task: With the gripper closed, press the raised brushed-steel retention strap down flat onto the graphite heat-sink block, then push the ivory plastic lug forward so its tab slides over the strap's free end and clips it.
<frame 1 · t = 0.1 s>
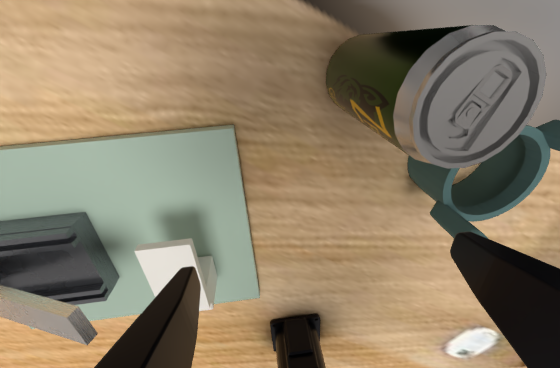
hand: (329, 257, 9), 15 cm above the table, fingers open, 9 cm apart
bracket: (450, 155, 25), on the table
lug: (183, 266, 23), point 3 cm above the table, slide at 0.0 cm
board: (119, 238, 25), on the table
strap: (8, 303, 19), point 6 cm above the table, hinge at 22.0°
beer can: (356, 74, 20), on the table
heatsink: (55, 246, 24), resting on board
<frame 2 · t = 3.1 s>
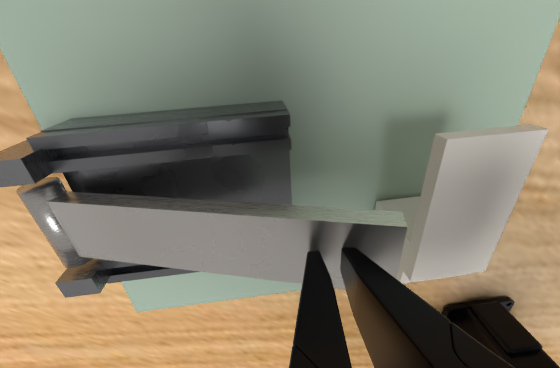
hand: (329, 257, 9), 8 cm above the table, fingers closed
lug: (434, 199, 13), point 3 cm above the table, slide at 0.0 cm
board: (300, 164, 16), on the table
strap: (197, 236, 10), point 6 cm above the table, hinge at 17.6°, touching gripper
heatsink: (200, 174, 15), resting on board
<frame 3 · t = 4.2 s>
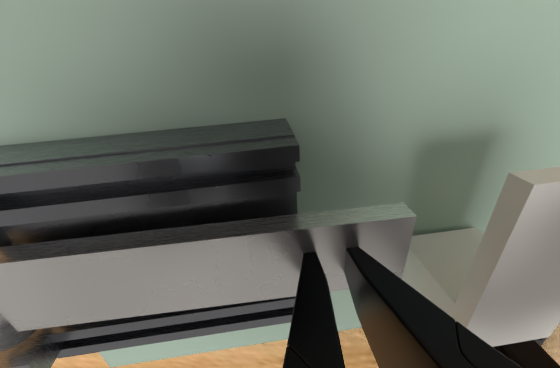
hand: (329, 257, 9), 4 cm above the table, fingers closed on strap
lug: (482, 243, 10), point 3 cm above the table, slide at 0.0 cm
board: (307, 193, 12), on the table
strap: (190, 269, 9), point 4 cm above the table, hinge at 1.3°, touching gripper
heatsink: (181, 208, 12), resting on board
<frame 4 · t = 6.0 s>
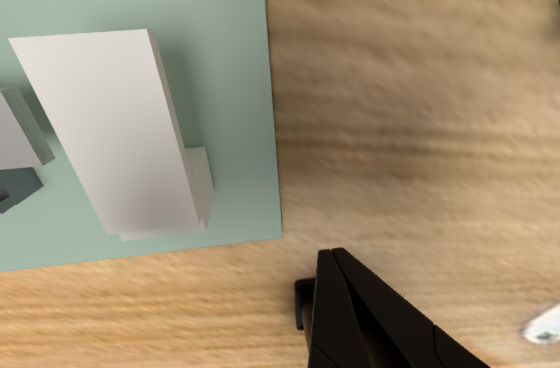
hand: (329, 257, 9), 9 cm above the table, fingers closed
lug: (148, 142, 12), point 3 cm above the table, slide at 0.0 cm
board: (38, 110, 14), on the table
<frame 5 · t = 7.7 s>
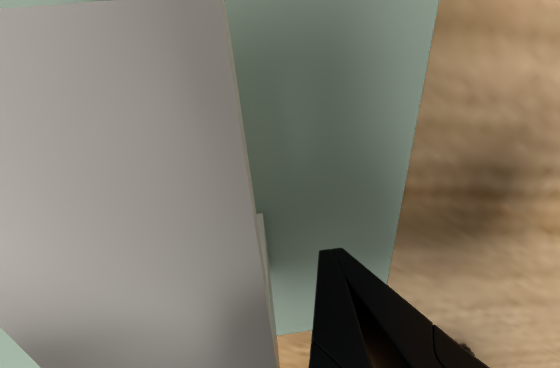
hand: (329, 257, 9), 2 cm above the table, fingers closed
lug: (178, 234, 6), point 3 cm above the table, slide at 1.2 cm, touching gripper
board: (25, 156, 8), on the table
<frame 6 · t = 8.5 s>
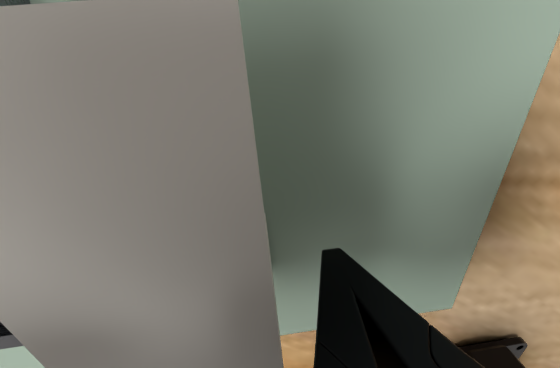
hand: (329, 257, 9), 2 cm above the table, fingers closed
lug: (182, 234, 6), point 3 cm above the table, slide at 4.9 cm, touching gripper
board: (146, 143, 8), on the table
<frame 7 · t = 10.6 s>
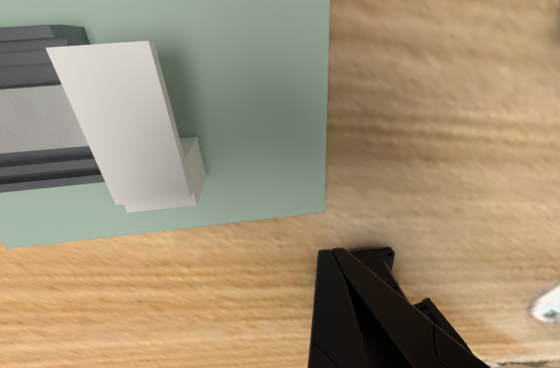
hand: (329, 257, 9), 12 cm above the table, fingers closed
lug: (149, 130, 14), point 3 cm above the table, slide at 4.8 cm
board: (135, 98, 17), on the table
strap: (5, 121, 13), point 4 cm above the table, hinge at 1.2°
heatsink: (38, 106, 16), resting on board
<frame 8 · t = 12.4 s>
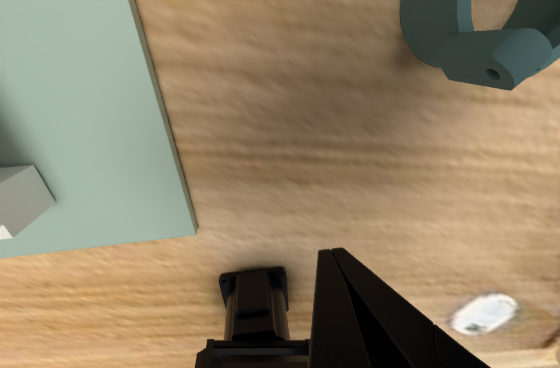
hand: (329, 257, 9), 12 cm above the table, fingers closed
bracket: (464, 1, 16), on the table
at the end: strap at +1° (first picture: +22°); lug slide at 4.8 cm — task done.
